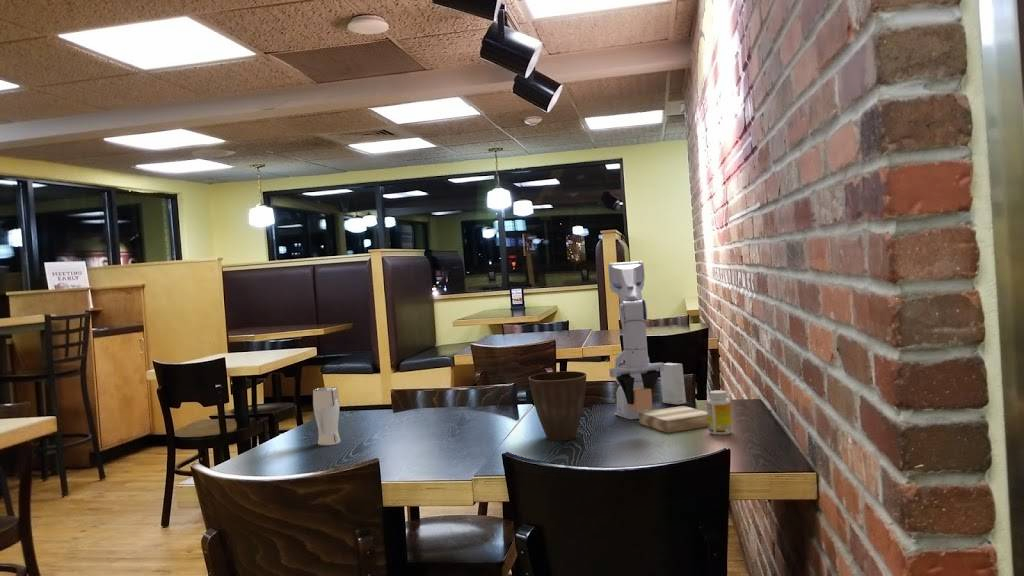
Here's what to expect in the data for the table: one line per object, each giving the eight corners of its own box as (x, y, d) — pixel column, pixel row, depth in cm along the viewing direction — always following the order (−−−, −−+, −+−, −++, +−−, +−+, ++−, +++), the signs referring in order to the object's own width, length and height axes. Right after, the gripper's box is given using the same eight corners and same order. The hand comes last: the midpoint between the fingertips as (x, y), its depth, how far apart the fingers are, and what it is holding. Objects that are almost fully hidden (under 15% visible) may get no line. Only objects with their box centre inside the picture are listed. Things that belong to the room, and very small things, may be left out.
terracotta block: (627, 408, 179) (626, 388, 179) (643, 406, 181) (641, 386, 181) (636, 411, 175) (635, 390, 175) (652, 408, 177) (651, 388, 177)
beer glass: (319, 447, 191) (315, 392, 191) (313, 443, 198) (309, 389, 197) (345, 443, 195) (340, 388, 194) (338, 438, 201) (334, 385, 201)
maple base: (639, 423, 193) (638, 412, 193) (683, 416, 197) (683, 405, 197) (667, 432, 180) (667, 420, 179) (714, 425, 184) (713, 413, 184)
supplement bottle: (736, 432, 175) (734, 390, 175) (723, 436, 171) (720, 394, 171) (717, 429, 179) (714, 389, 179) (704, 433, 176) (701, 392, 176)
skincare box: (686, 403, 217) (684, 363, 217) (676, 405, 215) (673, 365, 214) (672, 400, 222) (669, 362, 222) (661, 403, 220) (659, 363, 220)
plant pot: (601, 438, 178) (596, 375, 178) (546, 447, 173) (541, 382, 173) (575, 428, 192) (571, 369, 192) (524, 436, 187) (519, 375, 187)
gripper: (617, 352, 172) (621, 408, 172) (669, 346, 177) (673, 401, 177) (604, 350, 178) (607, 404, 178) (654, 344, 183) (658, 397, 183)
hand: (639, 402), depth 178 cm, fingers closed on terracotta block, 4 cm apart
